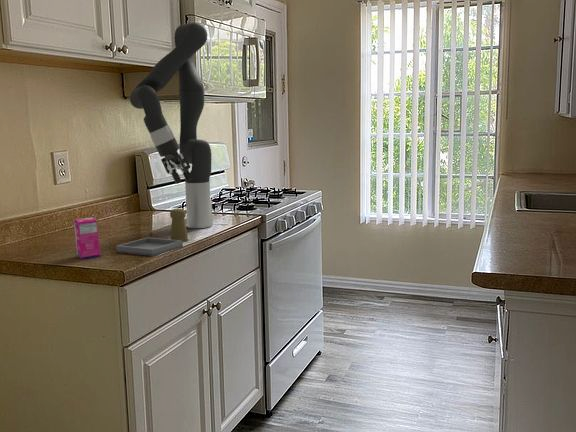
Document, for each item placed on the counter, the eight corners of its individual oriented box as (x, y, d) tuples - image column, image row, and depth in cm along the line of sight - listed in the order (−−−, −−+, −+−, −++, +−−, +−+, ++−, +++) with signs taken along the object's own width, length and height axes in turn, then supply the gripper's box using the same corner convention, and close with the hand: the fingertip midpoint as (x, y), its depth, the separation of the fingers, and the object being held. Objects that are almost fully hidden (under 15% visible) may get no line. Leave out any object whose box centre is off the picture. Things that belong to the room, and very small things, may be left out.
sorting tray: (148, 243, 199) (147, 237, 199) (182, 246, 192) (182, 240, 192) (116, 252, 187) (116, 245, 186) (152, 256, 180) (152, 249, 179)
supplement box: (76, 256, 182) (73, 219, 181) (96, 253, 185) (93, 217, 184) (80, 259, 177) (77, 221, 176) (100, 256, 181) (98, 219, 179)
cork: (180, 238, 207) (178, 207, 205) (191, 240, 203) (190, 208, 201) (166, 241, 202) (164, 209, 200) (178, 243, 198) (176, 210, 196)
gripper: (182, 133, 206) (202, 176, 210) (164, 139, 217) (183, 178, 222) (164, 142, 202) (185, 185, 206) (147, 147, 213) (167, 187, 218)
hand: (184, 182), depth 214 cm, fingers open, 8 cm apart
